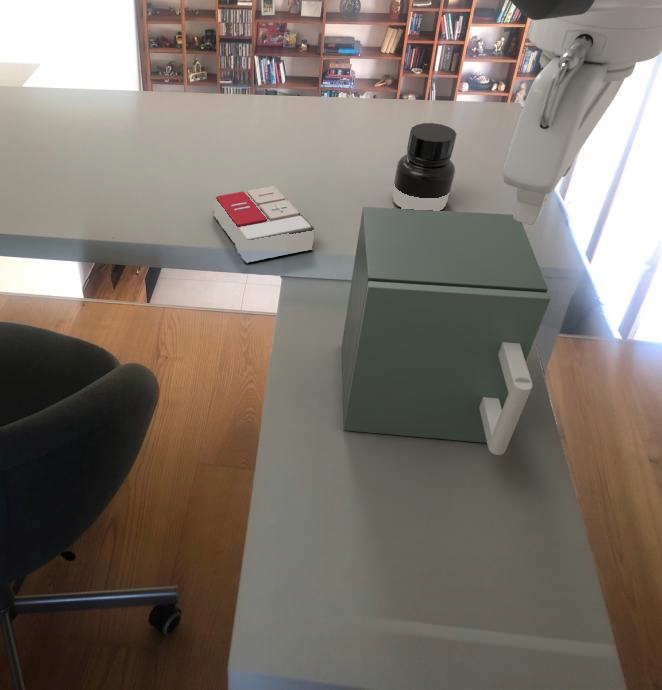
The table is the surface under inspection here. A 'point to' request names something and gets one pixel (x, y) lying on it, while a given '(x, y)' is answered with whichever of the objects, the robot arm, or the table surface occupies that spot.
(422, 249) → the green cabinet
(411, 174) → the ink bottle
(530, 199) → the robot arm
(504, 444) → the cabinet door
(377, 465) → the table surface
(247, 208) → the calculator
